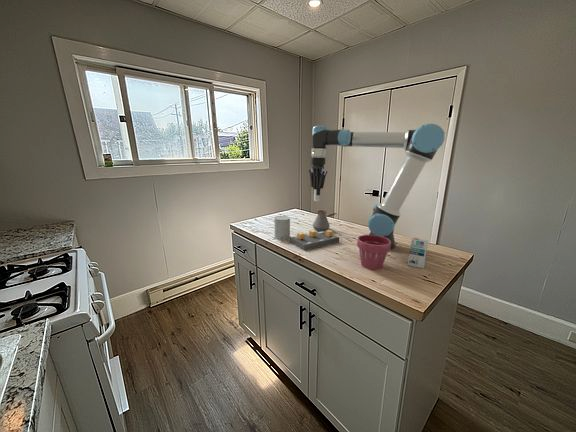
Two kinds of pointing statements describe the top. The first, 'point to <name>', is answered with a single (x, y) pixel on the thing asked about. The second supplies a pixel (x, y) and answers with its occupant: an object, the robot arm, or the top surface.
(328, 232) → the switch
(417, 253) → the light bulb box
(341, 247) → the top surface
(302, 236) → the switch
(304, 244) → the grey flat tray
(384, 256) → the plant pot
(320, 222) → the coffee pot
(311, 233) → the switch
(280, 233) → the grey cylinder
